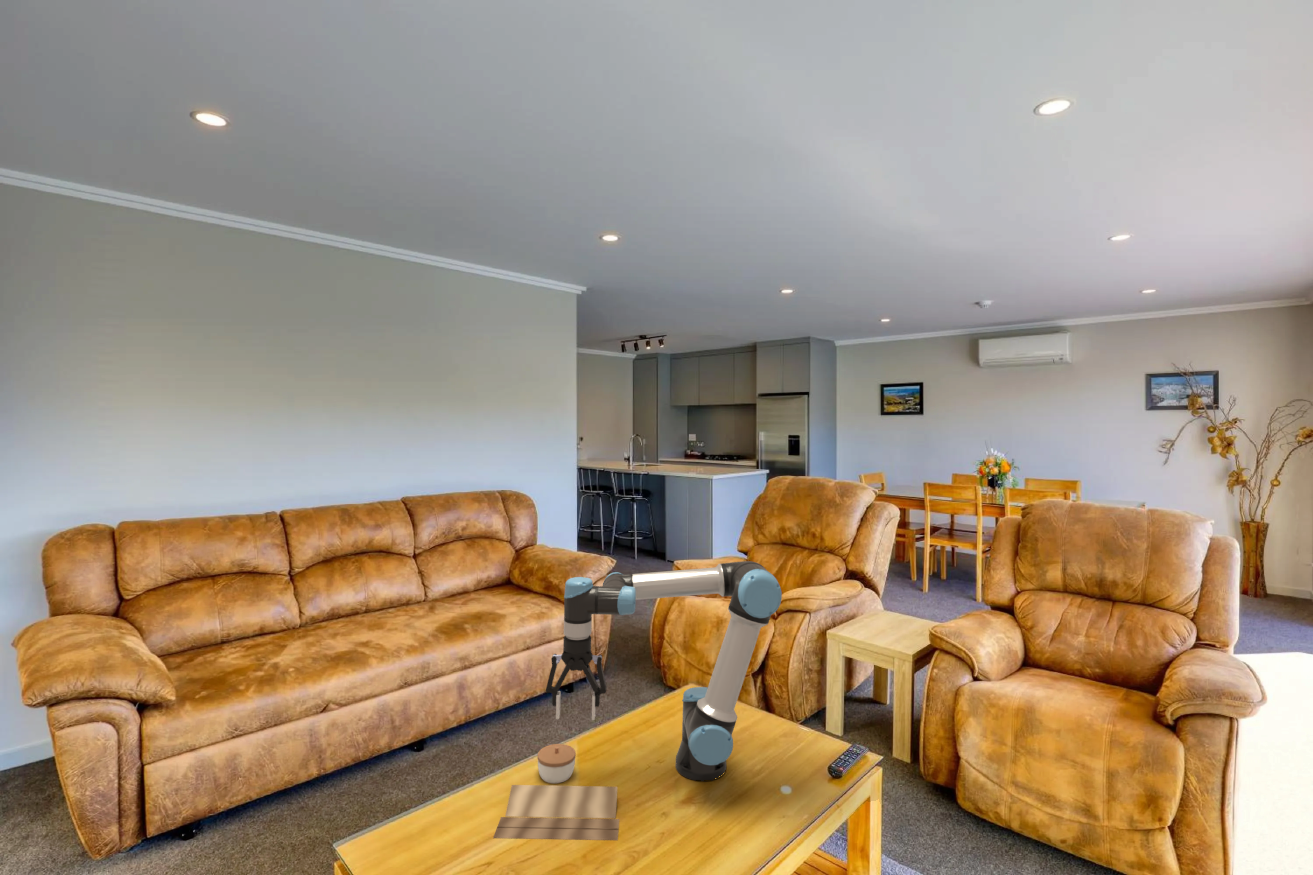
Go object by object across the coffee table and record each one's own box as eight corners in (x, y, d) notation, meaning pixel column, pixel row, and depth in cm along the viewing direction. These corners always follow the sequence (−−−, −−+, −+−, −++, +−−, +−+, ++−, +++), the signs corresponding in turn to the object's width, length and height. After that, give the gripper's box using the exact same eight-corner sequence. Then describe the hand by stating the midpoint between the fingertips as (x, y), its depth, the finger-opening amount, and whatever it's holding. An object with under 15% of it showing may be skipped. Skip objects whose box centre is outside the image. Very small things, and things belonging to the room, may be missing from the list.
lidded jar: (567, 793, 168) (568, 759, 168) (530, 788, 170) (531, 754, 170) (580, 772, 179) (580, 740, 179) (545, 767, 181) (546, 735, 181)
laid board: (619, 824, 155) (619, 818, 155) (617, 846, 147) (617, 839, 147) (500, 822, 155) (501, 816, 155) (492, 844, 147) (492, 837, 147)
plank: (617, 789, 163) (617, 786, 163) (615, 821, 156) (615, 818, 156) (512, 787, 163) (511, 784, 162) (505, 819, 156) (505, 816, 155)
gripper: (618, 631, 171) (616, 711, 171) (540, 630, 171) (538, 710, 171) (616, 640, 163) (614, 724, 164) (535, 639, 163) (533, 723, 163)
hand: (575, 717), depth 167 cm, fingers open, 9 cm apart
